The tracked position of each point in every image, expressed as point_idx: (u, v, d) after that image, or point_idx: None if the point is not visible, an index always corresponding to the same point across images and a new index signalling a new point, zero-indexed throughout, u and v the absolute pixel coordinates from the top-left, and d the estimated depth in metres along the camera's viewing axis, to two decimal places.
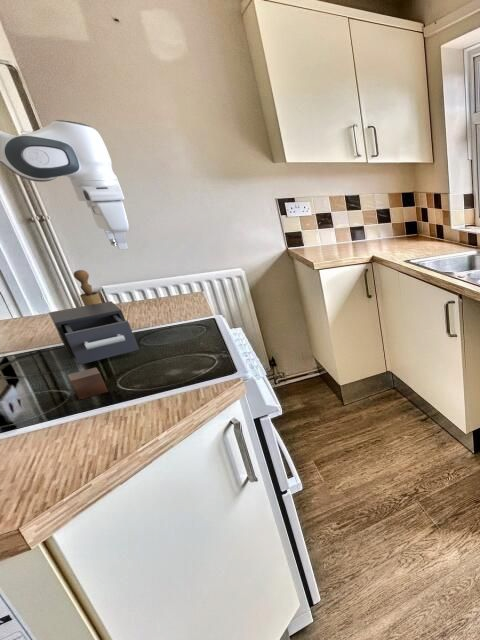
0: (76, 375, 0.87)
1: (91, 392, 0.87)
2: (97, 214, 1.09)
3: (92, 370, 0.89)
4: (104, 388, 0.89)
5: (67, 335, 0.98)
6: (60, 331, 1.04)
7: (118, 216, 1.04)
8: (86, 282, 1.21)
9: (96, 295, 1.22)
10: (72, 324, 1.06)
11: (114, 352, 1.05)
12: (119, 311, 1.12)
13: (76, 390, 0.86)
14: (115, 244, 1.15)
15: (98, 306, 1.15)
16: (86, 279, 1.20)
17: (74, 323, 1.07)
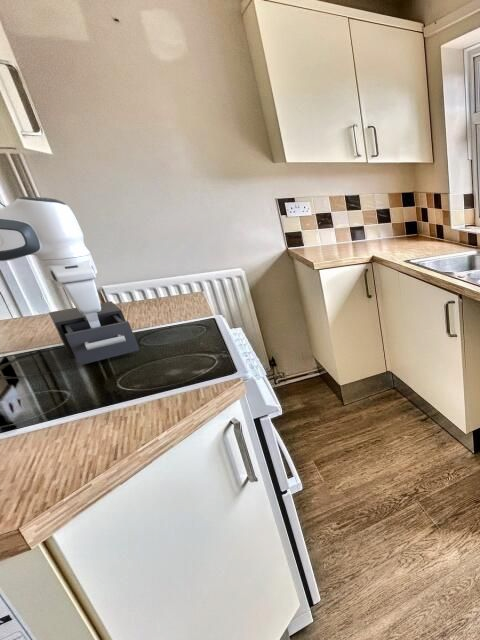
0: None
1: None
2: None
3: None
4: None
5: (67, 335, 0.98)
6: (60, 331, 1.04)
7: (89, 297, 0.96)
8: None
9: None
10: (72, 324, 1.06)
11: (115, 353, 1.05)
12: (119, 311, 1.12)
13: None
14: None
15: None
16: None
17: (74, 323, 1.06)
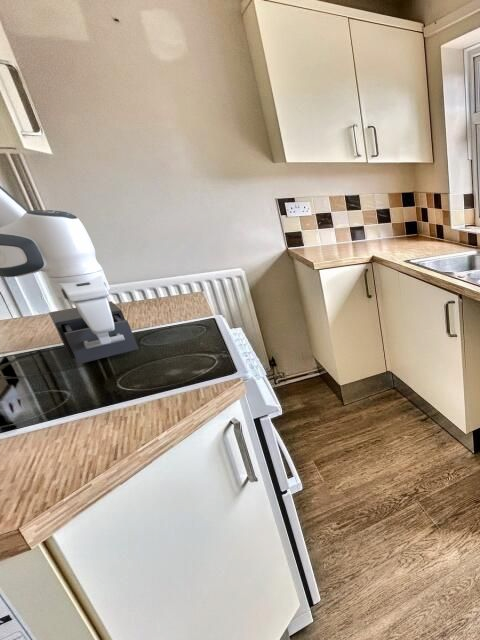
0: None
1: None
2: None
3: None
4: None
5: (67, 334, 0.98)
6: (60, 331, 1.04)
7: (102, 316, 0.91)
8: None
9: None
10: (72, 323, 1.07)
11: (114, 351, 1.05)
12: (119, 311, 1.12)
13: None
14: None
15: None
16: None
17: (74, 322, 1.07)
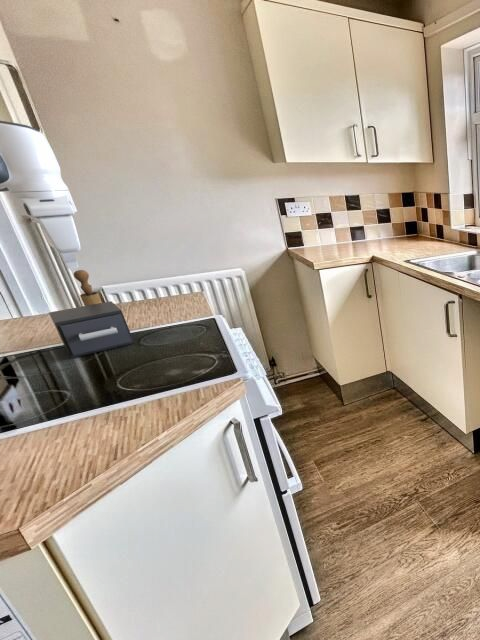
0: None
1: None
2: None
3: None
4: None
5: (62, 327, 1.03)
6: (60, 331, 1.04)
7: (67, 234, 0.87)
8: (86, 282, 1.21)
9: (96, 295, 1.22)
10: None
11: (107, 344, 1.10)
12: (119, 311, 1.12)
13: None
14: None
15: (98, 306, 1.15)
16: (86, 279, 1.20)
17: None
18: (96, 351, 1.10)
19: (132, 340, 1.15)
